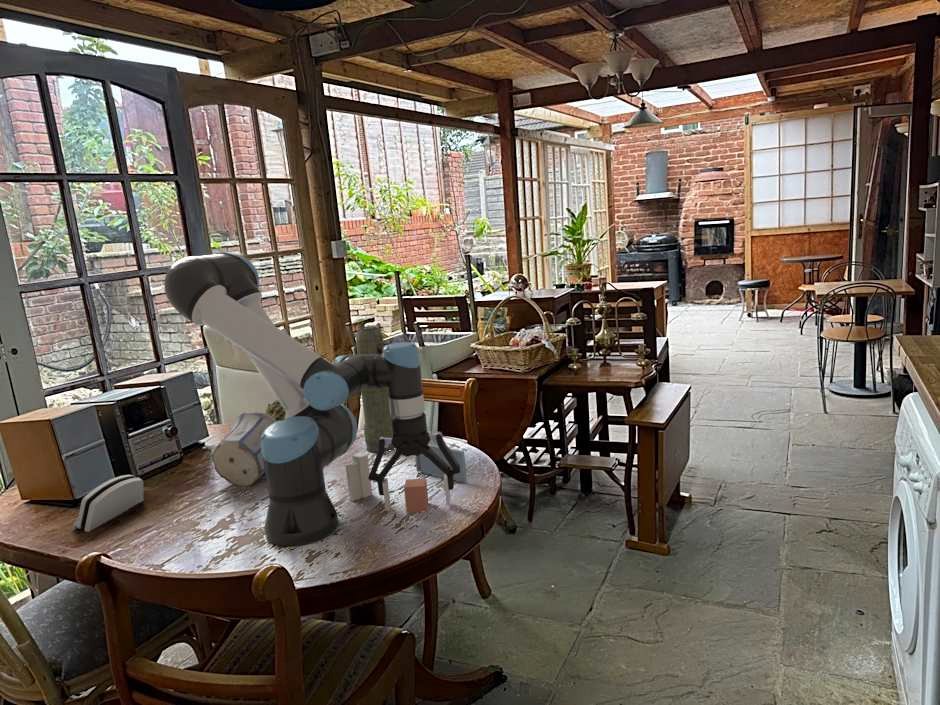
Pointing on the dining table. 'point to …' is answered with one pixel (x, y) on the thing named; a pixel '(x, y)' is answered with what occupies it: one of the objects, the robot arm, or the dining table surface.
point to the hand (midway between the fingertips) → (418, 505)
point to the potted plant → (245, 446)
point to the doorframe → (361, 476)
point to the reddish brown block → (416, 495)
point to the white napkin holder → (109, 501)
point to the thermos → (374, 393)
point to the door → (430, 468)
